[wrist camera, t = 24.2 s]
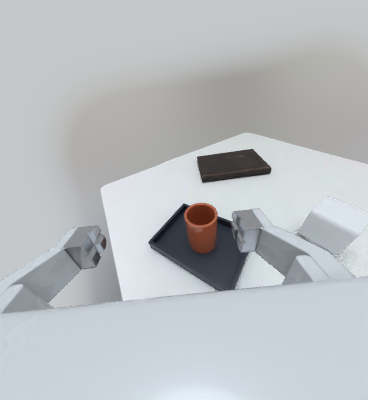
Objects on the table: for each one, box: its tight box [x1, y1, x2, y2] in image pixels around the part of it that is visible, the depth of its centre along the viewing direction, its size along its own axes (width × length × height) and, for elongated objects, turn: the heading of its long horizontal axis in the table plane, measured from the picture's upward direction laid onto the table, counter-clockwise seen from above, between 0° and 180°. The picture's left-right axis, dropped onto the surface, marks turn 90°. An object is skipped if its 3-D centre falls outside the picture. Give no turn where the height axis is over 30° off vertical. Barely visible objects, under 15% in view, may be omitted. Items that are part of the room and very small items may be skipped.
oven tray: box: [149, 204, 248, 291], centre depth 34 cm, size 19×14×2 cm
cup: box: [184, 203, 218, 254], centre depth 31 cm, size 6×6×9 cm
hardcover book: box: [197, 149, 271, 182], centre depth 56 cm, size 16×23×2 cm
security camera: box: [293, 196, 368, 255], centre depth 28 cm, size 6×7×10 cm
